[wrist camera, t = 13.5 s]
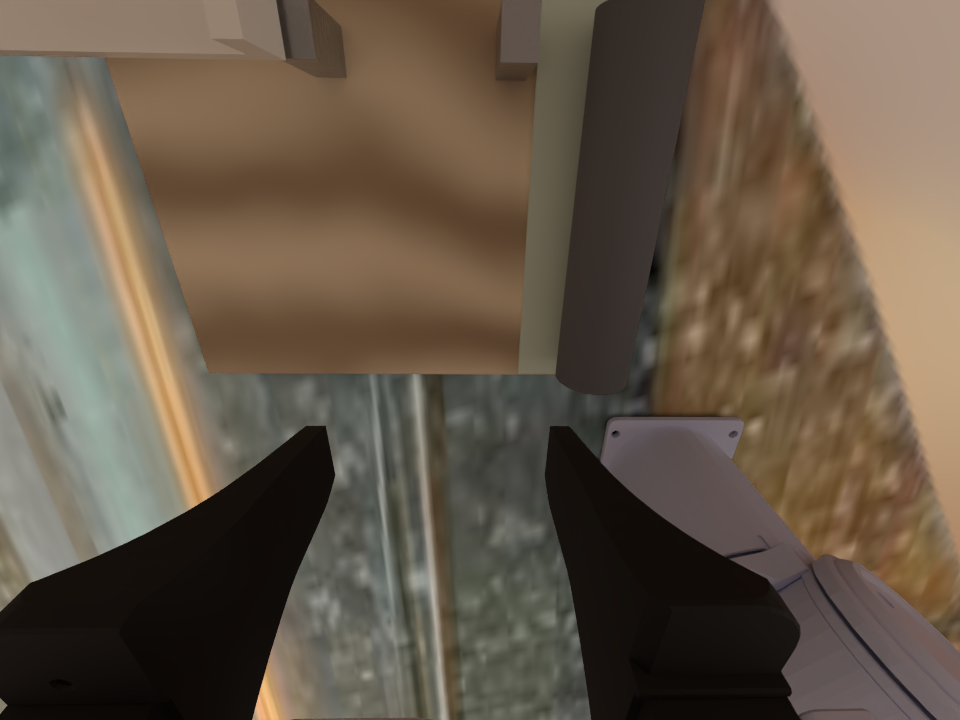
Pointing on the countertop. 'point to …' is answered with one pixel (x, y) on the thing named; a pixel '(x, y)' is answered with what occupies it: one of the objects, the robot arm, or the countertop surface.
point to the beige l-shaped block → (142, 29)
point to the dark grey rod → (622, 182)
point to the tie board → (373, 185)
